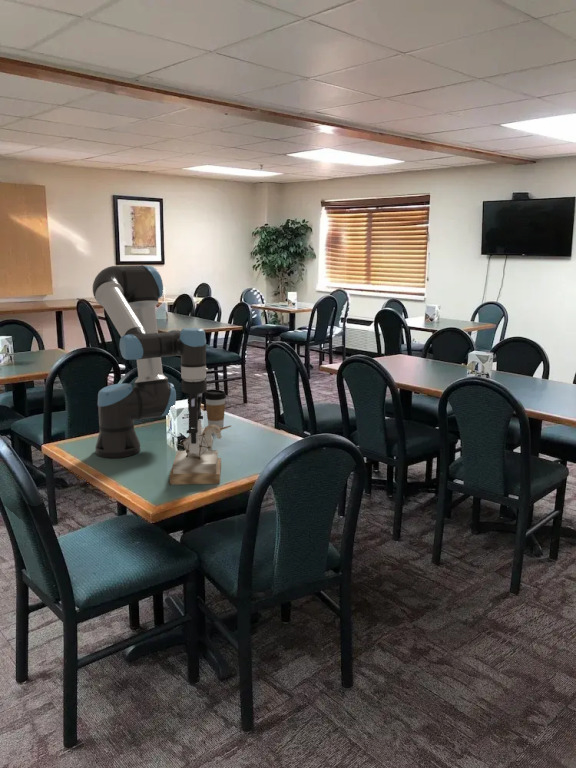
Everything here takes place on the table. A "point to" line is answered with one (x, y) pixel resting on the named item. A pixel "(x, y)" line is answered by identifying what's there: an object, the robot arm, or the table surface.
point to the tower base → (196, 477)
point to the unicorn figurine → (209, 431)
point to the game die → (202, 446)
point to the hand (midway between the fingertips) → (195, 446)
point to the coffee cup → (215, 407)
